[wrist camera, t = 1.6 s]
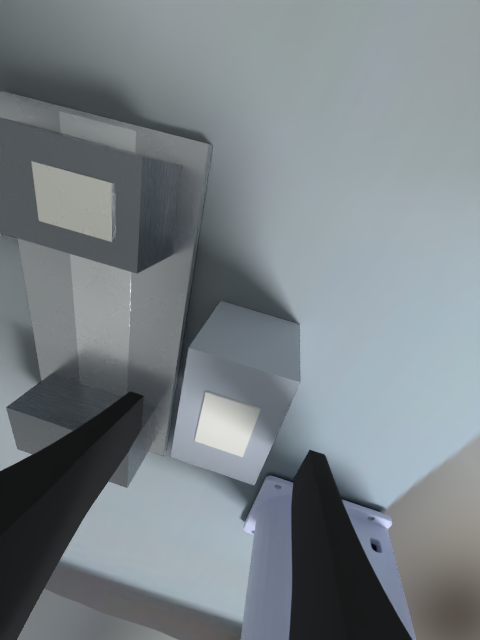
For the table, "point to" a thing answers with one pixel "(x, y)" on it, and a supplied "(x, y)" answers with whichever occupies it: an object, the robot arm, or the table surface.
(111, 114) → the table surface
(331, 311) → the table surface
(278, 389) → the block
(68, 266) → the rail base
